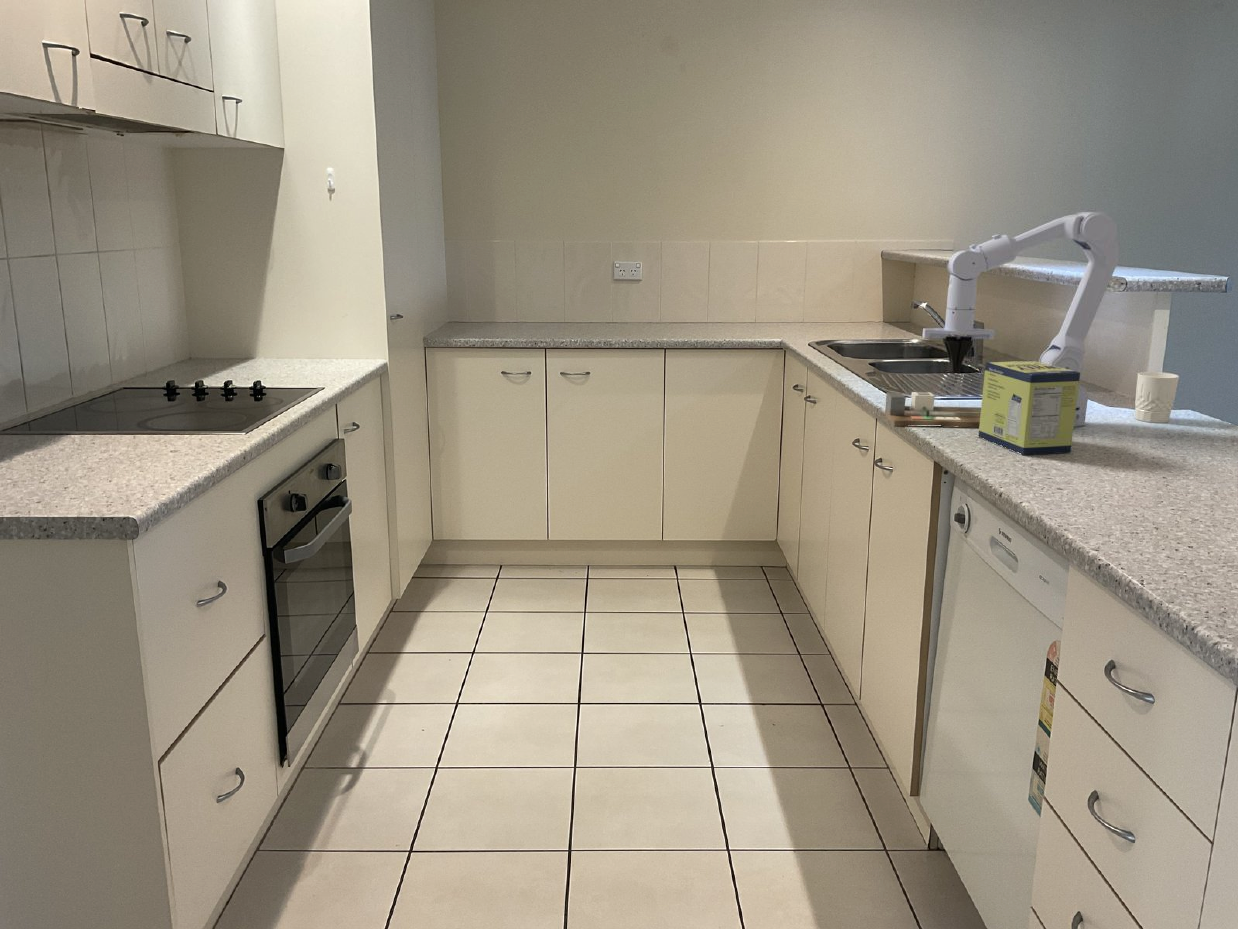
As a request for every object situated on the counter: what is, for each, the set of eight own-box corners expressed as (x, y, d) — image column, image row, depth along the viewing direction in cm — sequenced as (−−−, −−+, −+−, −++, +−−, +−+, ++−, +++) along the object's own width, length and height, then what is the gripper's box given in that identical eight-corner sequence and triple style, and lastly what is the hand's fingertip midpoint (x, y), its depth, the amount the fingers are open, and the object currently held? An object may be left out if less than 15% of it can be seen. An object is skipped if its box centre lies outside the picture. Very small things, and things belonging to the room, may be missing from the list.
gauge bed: (986, 417, 214) (986, 411, 214) (1000, 428, 204) (1001, 422, 203) (884, 415, 216) (885, 409, 216) (894, 426, 205) (894, 420, 205)
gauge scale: (957, 418, 208) (958, 416, 208) (961, 420, 205) (961, 419, 205) (910, 417, 208) (910, 415, 208) (912, 419, 206) (912, 418, 206)
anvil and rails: (982, 411, 214) (983, 393, 213) (989, 417, 208) (991, 399, 207) (885, 409, 216) (886, 392, 215) (890, 415, 210) (891, 397, 209)
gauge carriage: (928, 410, 214) (930, 391, 213) (937, 417, 206) (938, 398, 205) (910, 409, 214) (911, 391, 213) (917, 417, 207) (919, 398, 206)
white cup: (1133, 422, 210) (1140, 376, 208) (1129, 414, 217) (1135, 370, 215) (1175, 425, 208) (1182, 378, 205) (1168, 417, 215) (1175, 372, 212)
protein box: (1022, 434, 198) (1031, 359, 194) (1072, 453, 184) (1082, 372, 180) (976, 437, 196) (984, 360, 192) (1022, 456, 181) (1032, 373, 177)
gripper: (990, 307, 209) (983, 369, 213) (921, 306, 210) (916, 368, 214) (1000, 310, 202) (993, 375, 206) (929, 309, 203) (923, 373, 207)
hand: (954, 372), depth 209 cm, fingers closed
